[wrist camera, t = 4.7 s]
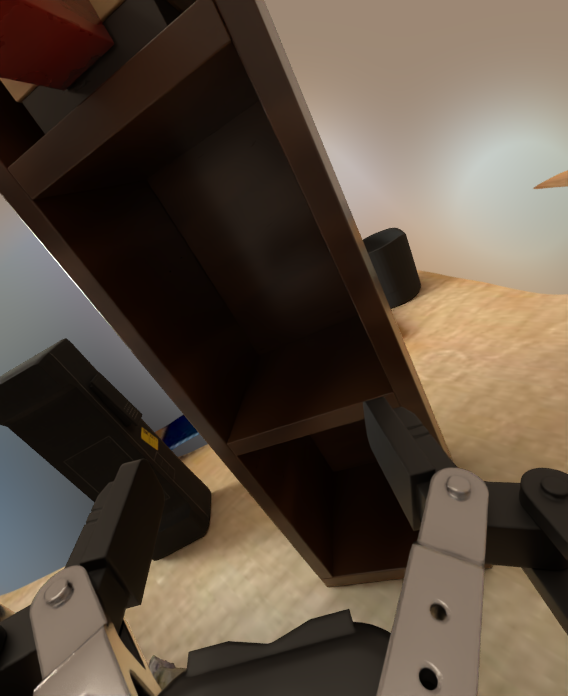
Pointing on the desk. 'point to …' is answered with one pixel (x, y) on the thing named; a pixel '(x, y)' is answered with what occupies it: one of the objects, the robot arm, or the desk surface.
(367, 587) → the desk surface
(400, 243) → the pen holder
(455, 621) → the robot arm
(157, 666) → the mineral rock
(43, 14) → the brush
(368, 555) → the shelf
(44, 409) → the portable radio
